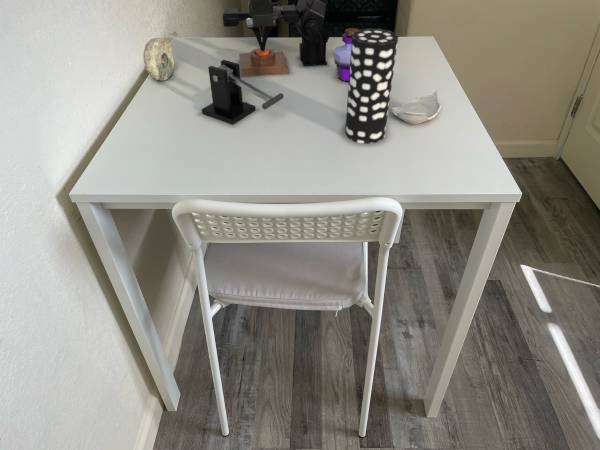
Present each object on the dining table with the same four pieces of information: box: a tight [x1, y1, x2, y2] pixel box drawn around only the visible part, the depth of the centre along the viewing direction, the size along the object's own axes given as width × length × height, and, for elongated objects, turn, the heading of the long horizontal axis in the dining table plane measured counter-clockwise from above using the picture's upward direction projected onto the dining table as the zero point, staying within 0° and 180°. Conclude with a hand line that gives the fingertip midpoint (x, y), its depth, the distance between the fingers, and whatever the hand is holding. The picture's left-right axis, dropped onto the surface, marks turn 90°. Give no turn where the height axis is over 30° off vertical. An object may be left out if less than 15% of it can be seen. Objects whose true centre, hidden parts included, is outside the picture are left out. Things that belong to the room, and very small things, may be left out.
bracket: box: [201, 59, 256, 125], centre depth 100 cm, size 9×8×11 cm
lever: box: [217, 64, 284, 110], centre depth 96 cm, size 15×6×2 cm, turn 56°
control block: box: [238, 47, 289, 78], centre depth 121 cm, size 12×10×4 cm
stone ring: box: [143, 37, 175, 82], centre depth 114 cm, size 10×4×10 cm, turn 160°
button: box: [255, 47, 270, 56], centre depth 120 cm, size 4×4×2 cm
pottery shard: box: [391, 90, 442, 125], centre depth 98 cm, size 10×11×5 cm
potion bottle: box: [332, 27, 359, 83], centre depth 113 cm, size 9×9×12 cm
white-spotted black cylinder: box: [344, 28, 399, 145], centre depth 90 cm, size 8×8×20 cm
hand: (262, 50), depth 119 cm, fingers closed, pressing on button
